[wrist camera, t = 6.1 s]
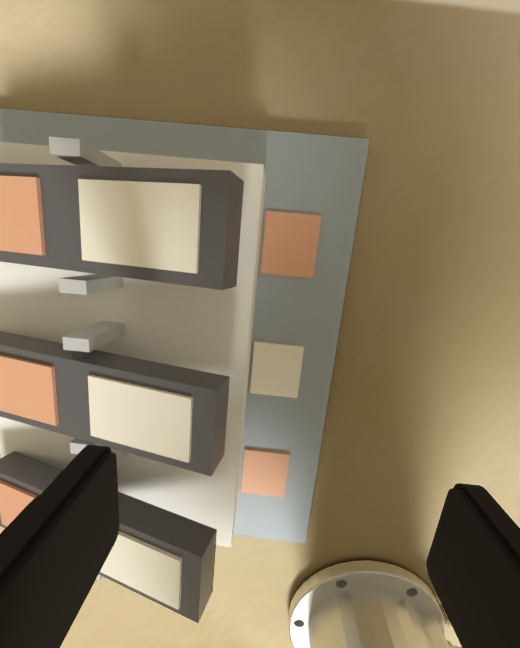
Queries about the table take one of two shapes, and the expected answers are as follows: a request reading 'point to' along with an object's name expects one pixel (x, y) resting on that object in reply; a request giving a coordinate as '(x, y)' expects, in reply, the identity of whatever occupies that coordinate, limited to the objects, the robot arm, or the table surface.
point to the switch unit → (208, 310)
